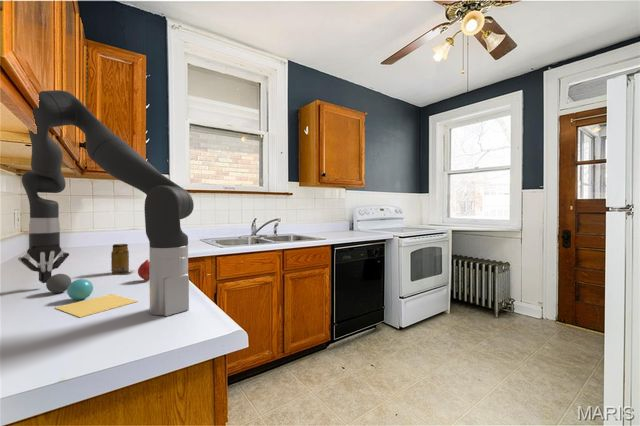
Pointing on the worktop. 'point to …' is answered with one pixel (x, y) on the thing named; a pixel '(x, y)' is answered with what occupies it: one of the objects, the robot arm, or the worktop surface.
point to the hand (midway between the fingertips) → (45, 282)
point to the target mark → (95, 305)
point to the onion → (144, 270)
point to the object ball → (80, 289)
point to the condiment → (120, 260)
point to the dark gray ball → (58, 283)
